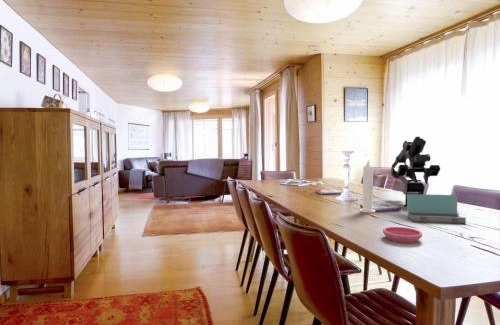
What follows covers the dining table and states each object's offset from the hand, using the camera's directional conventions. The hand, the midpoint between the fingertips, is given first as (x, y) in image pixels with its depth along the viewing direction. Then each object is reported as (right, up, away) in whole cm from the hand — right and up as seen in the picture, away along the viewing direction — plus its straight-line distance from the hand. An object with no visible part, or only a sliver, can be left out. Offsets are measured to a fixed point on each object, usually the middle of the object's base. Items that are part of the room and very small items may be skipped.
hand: (422, 183), depth 161 cm
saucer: (-30, -17, -45) cm, 57 cm away
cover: (-3, -8, -14) cm, 17 cm away
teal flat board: (-4, -15, -18) cm, 24 cm away
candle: (-26, -14, +1) cm, 29 cm away
